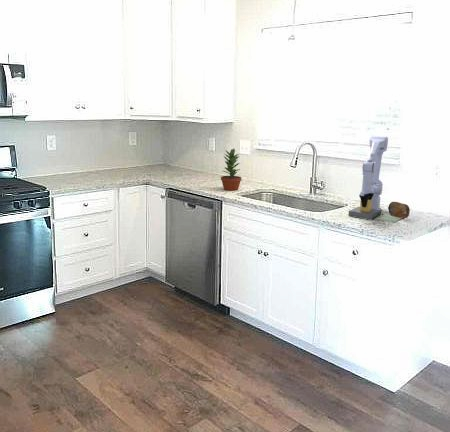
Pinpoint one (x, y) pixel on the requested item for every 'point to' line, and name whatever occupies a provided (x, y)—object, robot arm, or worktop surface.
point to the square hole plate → (365, 213)
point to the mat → (388, 218)
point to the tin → (399, 210)
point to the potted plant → (231, 173)
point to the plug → (368, 207)
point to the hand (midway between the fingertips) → (365, 206)
